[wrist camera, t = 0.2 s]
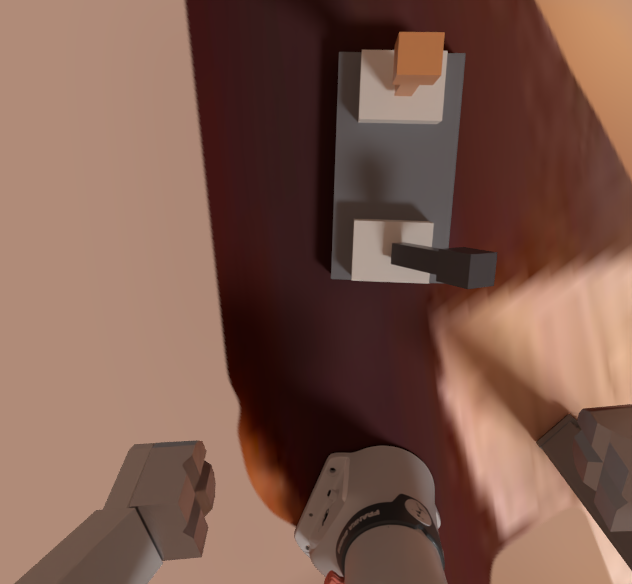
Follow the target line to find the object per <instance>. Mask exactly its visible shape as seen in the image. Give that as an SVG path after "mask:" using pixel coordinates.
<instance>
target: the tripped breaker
mask: <svg viewBox="0 0 632 584" xmlns="http://www.w3.org/2000/svg"><path fill="white" fill-rule="evenodd" d="M444 35H445V32H399V34H398V37H397V40H396V43H395V48H394V65H393V82H392V85H395V93H394V96H412V95H413V93H414V92H415V91H416V89H417V88H418V87H419V85H433V84H434V83H435V82H436V81H437V80H438V79H439V77H440V76H441V73H442V60H443V47H444Z"/></svg>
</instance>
